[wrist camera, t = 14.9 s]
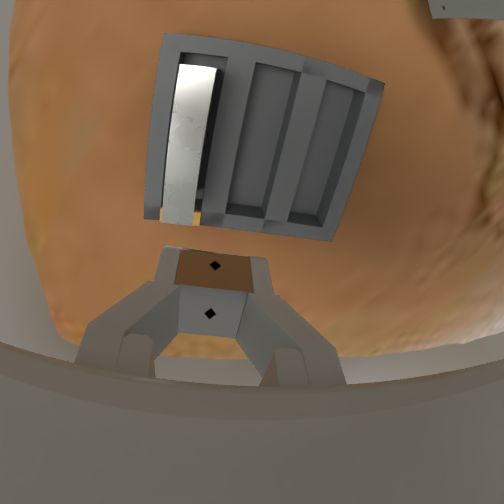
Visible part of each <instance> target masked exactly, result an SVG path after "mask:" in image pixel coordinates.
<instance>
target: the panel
mask: <svg viewBox="0 0 504 504" xmlns="http://www.w3.org/2000/svg"><path fill="white" fill-rule="evenodd" d="M217 70H218V68H214V67H206V66H197V65H186V64H180V67H179V73H178V79H177V85H176V91H175V97H174V104H173V111H172V118H171V126H170V134H169V142H168V151H167V161H166V171H165V182H164V195H163V209H162V223H171V224H180V225H188V226H192V222H193V215H194V208H195V202H196V195H197V189H198V182H199V175H200V168H201V161H202V154H203V148H204V142H205V135H206V129H207V123H208V118H209V112H210V106H211V101H212V95H213V90H214V85H215V80H216V75H217Z"/></svg>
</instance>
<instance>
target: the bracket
mask: <svg viewBox="0 0 504 504" xmlns="http://www.w3.org/2000/svg"><path fill="white" fill-rule="evenodd" d="M428 3H429V7H430V11H431V15H432V19H439V18H476V19H494V20H504V0H428ZM443 5H444V6H445V11H444V10H443V9H442V6H443Z"/></svg>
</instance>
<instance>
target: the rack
mask: <svg viewBox="0 0 504 504" xmlns="http://www.w3.org/2000/svg"><path fill="white" fill-rule="evenodd" d="M180 64H186V65H197V66H206V67H214V68H218V70H217V75H216V80H215V85H214V90H213V95H212V101H211V106H210V112H209V118H208V123H207V129H206V135H205V142H204V148H203V154H202V161H201V168H200V175H199V182H198V189H197V195H196V202H195V208H194V215H193V222H192V225H195V226H199V225H204V226H213V227H221V228H229V229H237V230H245V231H253V232H261V233H269V234H277V235H284V236H292V237H299V238H307V239H314V240H321V241H329V242H332V240H333V237H334V235H335V232H336V229H337V227H338V224H339V222H340V219H341V216H342V214H343V211H344V208H345V206H346V203H347V200H348V197H349V195H350V192H351V189H352V186H353V183H354V180H355V178H356V175H357V172H358V169H359V166H360V163H361V160H362V157H363V154H364V151H365V148H366V145H367V142H368V139H369V135H370V132H371V129H372V126H373V123H374V119H375V116H376V113H377V109H378V106H379V103H380V99H381V96H382V92H383V89H384V85H385V83H382V82H380V81H377V80H375V79H372V78H370V77H367V76H365V75H362V74H359V73H357V72H354V71H351V70H348V69H345V68H342V67H339V66H336V65H333V64H330V63H327V62H324V61H321V60H317V59H314V58H310V57H307V56H303V55H299V54H296V53H292V52H288V51H284V50H279V49H275V48H271V47H266V46H261V45H256V44H251V43H245V42H240V41H234V40H227V39H220V38H213V37H204V36H195V35H183V34H168V33H164V36H163V41H162V46H161V51H160V57H159V63H158V69H157V75H156V81H155V88H154V95H153V103H152V111H151V119H150V129H149V139H148V150H147V162H146V178H145V197H144V219H152V220H160V222H162V209H163V195H164V182H165V171H166V161H167V151H168V142H169V134H170V126H171V118H172V111H173V104H174V97H175V91H176V85H177V79H178V73H179V67H180Z"/></svg>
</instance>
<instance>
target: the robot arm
mask: <svg viewBox="0 0 504 504" xmlns="http://www.w3.org/2000/svg"><path fill="white" fill-rule="evenodd" d="M177 333H187V334H199V335H210V336H219V337H227V338H236V341H237V342H238V344H239V345H240V347H241V348H242V349H243V351H244V352H245V354H246V355H247V357H248V358H249V359H250V361H251V362H252V364H253V365H254V366H255V368H256V369H257V371H258V372H259V373H260V375H261V376H262V380H261V382H260V384H259V386H234V385H218V384H204V383H194V382H183V381H175V380H166V379H159V378H156V376H155V362H154V360H155V359H156V358H157V357H158V356H159V354H160V353H161V352H162V351H163V350H164V349H165V348H166V347H167V345H168V344H169V343H170V342H171V341H172V340H173V339H174V338H175V336H176V335H177ZM0 504H504V359H502V360H498V361H494V362H490V363H487V364H483V365H478V366H474V367H469V368H465V369H460V370H455V371H450V372H445V373H439V374H433V375H427V376H421V377H414V378H407V379H400V380H391V381H383V382H374V383H363V384H349V385H347V384H346V381H345V377H344V374H343V371H342V367H341V364H340V361H339V358H338V354H337V351H336V348H335V347H334V346H333V345H332V344H331V343H329V342H328V341H327V340H326V339H325V338H324V337H323V336H322V335H321V334H320V333H319V332H318V331H316V330H315V329H314V328H313V327H312V326H311V325H310V324H309V323H308V322H307V321H306V320H305V319H304V318H303V317H301V316H300V315H299V314H298V313H297V312H296V311H295V310H294V309H293V308H292V307H291V306H290V305H289V304H288V303H286V302H285V301H284V300H283V299H282V298H281V297H280V296H278V295H274V291H273V286H272V281H271V276H270V271H269V266H268V262H267V259H266V258H261V257H250V256H249V257H246V256H237V255H228V254H219V253H214V252H207V251H201V250H194V249H187V248H182V249H181V248H180V247H172V246H164V247H163V248H162V252H161V255H160V259H159V263H158V266H157V270H156V274H155V278H154V282H153V281H148V282H146V283H145V284H143V285H142V286H141V287H139V288H138V289H136V290H135V291H133V292H132V293H131V294H129V295H128V296H126V297H125V298H124V299H122V300H121V301H119V302H118V303H116V304H115V305H114V306H112V307H111V308H110V309H108V310H107V311H105V312H104V313H103V314H101V315H100V316H98V317H97V318H96V319H94V320H93V321H92V322H90V323H89V324H88V325H87V328H86V331H85V333H84V336H83V339H82V342H81V345H80V348H79V350H78V353H77V356H76V360H75V362H74V363H72V362H68V361H64V360H60V359H56V358H52V357H47V356H44V355H41V354H37V353H34V352H31V351H27V350H24V349H21V348H17V347H14V346H11V345H8V344H5V343H2V342H0Z"/></svg>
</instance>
